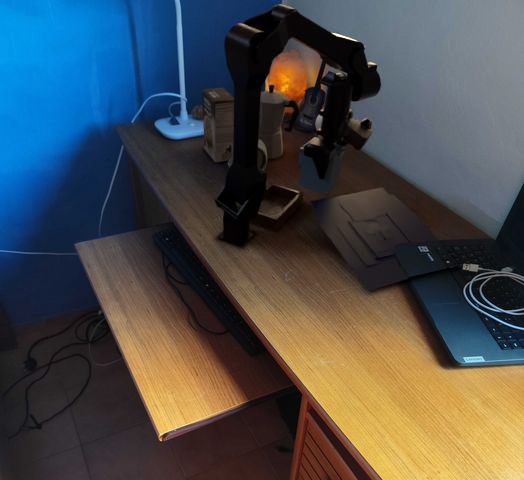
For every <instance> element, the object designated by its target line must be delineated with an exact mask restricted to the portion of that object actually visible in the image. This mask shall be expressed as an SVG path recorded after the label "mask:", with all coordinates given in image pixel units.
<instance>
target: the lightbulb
mask: <svg viewBox="0 0 524 480" xmlns="http://www.w3.org/2000/svg"><path fill="white" fill-rule="evenodd" d="M314 123H315V130H316V132H317V131H318V129H320V128H321V123H322V116H320V114H318V116H317V117H316V118H315V122H314ZM317 137H318V138H319V139H322V136H320V135H317Z"/></svg>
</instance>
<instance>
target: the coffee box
mask: <svg viewBox="0 0 524 480" xmlns="http://www.w3.org/2000/svg"><path fill="white" fill-rule="evenodd" d="M201 101H202V102H201V103H202V122H203V145H204V150H205V152H206V153H207V154H208V156H209V157H210V158H211V159H212V161H213V162H214V163H221V162H228V161H229V160H230V159H231V158H232V157H233V139H234V96H233V95H232V94H231V93H230V92H228V91H227V89H225V88H224V87H218V88H215V87H214V88H212V87H211V88H203V89H201Z"/></svg>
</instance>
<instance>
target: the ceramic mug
mask: <svg viewBox="0 0 524 480" xmlns="http://www.w3.org/2000/svg"><path fill="white" fill-rule="evenodd" d="M232 163H233V157H232V158H231V159H230V160H229V161H227V165H228V169H229V168H230V166H231V164H232ZM257 164H258V167H259V168H260V169H261V170H263V171H265V169H266V168H267V165H268V159H267V152H266V147H265V145H264V143H263V142H262V141H261V140H260V139H259V140H258V160H257Z"/></svg>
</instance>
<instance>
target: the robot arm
mask: <svg viewBox="0 0 524 480" xmlns="http://www.w3.org/2000/svg"><path fill="white" fill-rule="evenodd" d="M291 39H292V40H294V41H296V42H297V43H299V44H301V45H303V46H305V47H307V48H309V49H310V50H312V51H314V52H316V53H317V54H318V55H319V58H320V59H321V60H322V61H323V62H324V63H325V64H326V65H327V66H328V67H330V68H333V69H335V70H337V71H340V72H338V73H336V72H333V71H330V70H328V71H327V73H326V74H325V75H324V76H322V78H321V79H320V80H319V84H320V85H323V86H325V87H326V88H325V95H324V100H323V101H324V103H323V108H322V109H320V111H319V115H320V116H322V123H321V128H320V129H318V131H317V130H316V132H317V133H316V135H317V136H318V135H320V136H322V139H318V138H319V137H315V138H314V137H313V138H312V139H310V140H311V141H310V140H309V141H308V142H306V143H307V144H306V143H305V144H306V145H305V144H304V145H305V146H304V145H303V146H304V152H303V155H304V156H307V157H310V158H312V159H313V161H314V164H315V167H316V170H317V173H318V176H319V178H320V179H324V177H325V175H326V172H327V168H328V165H329V162H330V160H332V159H333V158H334V157H335V156H336V155H337V154H335V150H336V147H335V144H339V145H342V146H345V147H346V146H347V145H350V146H352V147H353V149H355V150H356V151H362V149H363V147H365V146H366V144H367V142H368V141H369V139H370V138H371V136H372V135H373V129H372V124H373V120H372V119H370V118H369V117H366V118H363V120H360V119H357V120H356V119H354V118H353V116H354V112H353V109H351V105H352V102H359V101H363V100H367V99H371V98H373V97H375V96H377V95H378V94H379V92H380V91H381V88H382V79H381V76H380V74H379V72H378V64H376V63H374V62H371V61H370V62H368V60H367V56H366V52H365V50H366V45H365V44H364V43H363V42H362V41H359V40H356V39H353V38H351V37H348V36H344V35H342V34H339V33H334V32H331V31H329V30H328V29H326V28H325V27H323V26H321V25H320V24H319V23H316V22H314V21H313V20H311V19H310V18H309V17H306V16H305V15H303V14H301V13H300V11H299V10H298V9H296V8H294V7H291V6H289V5H284V4H281V3H279V4H276V5H273V6H272V7H271V8H270V9H267V10H266V11H264V12H262V13H260V14H255V15H254V16H252V17H248V18H247V19H245V20H244V21H242V22H241V23H238V22H237V23H236V24H234V25H233V26H231V27H230V29H229V30H228V32H226V34H225V37H224V44H223V48H224V55H225V63H226V67H227V70H228V73H229V75H230V78H231V81H232V83H233V97H234V139H233V163H232V164H231V166H230V168H229V167H228V169H227V171H226V175H225V180H224V184H223V186H222V187H221V189H220V190H219V192H218V193H217V195H216V197H214V202H215V205H216V207H217V208H218V209H220V210H222V211H223V215H222V231H221V232H220V233H219V234H218V235H217V239H218V240H221V241H222V242H226V243H228V244H231V245H235V246H237V247H240V248H242V247H244V246H245V245H246V244H247V243H249V241H250V240H251V239H252V238H253V237H254V236H255V235H256V231H255V230H253V229H250V220H251V219H253V218H256V217H257V215H258V212H259V209H260V205H261V202H262V201H263V198H264V191H265V192H267V190H266V186H267V180H268V173H267V172H266V171H265V170H261V169H260V168H259V167H258V164H257V160H258V140H259V120H260V100H261V92H262V88H263V85H264V84H265V82H266V80H267V78H268V77H269V75H270V73H271V69H272V63H273V60H275V58H277V57H278V56H279V55H280V54H282V53H283V52H284V51H285V48H286V46H287V44H288V42H289V41H290V40H291Z"/></svg>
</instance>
